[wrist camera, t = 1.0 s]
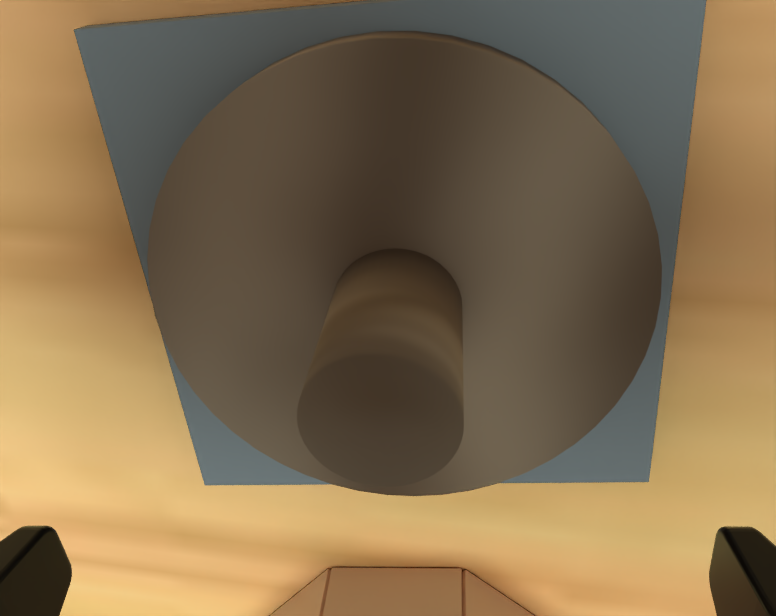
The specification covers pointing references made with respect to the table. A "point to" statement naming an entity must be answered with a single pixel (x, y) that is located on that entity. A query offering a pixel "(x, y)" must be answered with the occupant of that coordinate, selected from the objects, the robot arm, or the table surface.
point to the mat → (434, 15)
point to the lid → (405, 264)
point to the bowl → (399, 594)
